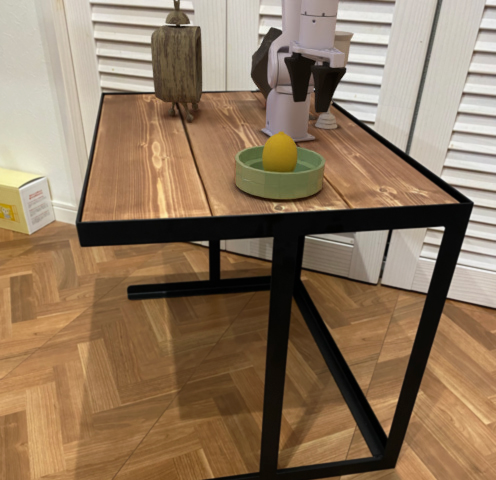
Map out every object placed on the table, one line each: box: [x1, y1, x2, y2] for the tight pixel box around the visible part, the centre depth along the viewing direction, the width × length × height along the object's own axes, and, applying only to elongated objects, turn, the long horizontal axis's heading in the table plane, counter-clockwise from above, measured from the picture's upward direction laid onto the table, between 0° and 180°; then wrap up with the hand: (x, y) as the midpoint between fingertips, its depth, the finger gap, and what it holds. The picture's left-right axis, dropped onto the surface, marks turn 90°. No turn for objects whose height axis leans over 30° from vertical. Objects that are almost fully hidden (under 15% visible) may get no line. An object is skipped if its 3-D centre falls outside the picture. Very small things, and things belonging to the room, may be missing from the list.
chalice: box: [314, 30, 355, 130], centre depth 108 cm, size 7×7×18 cm
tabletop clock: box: [150, 0, 203, 123], centre depth 109 cm, size 14×9×25 cm, turn 179°
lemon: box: [262, 131, 297, 173], centre depth 80 cm, size 6×6×8 cm
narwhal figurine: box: [250, 26, 316, 120], centre depth 118 cm, size 14×15×18 cm
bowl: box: [234, 144, 326, 200], centre depth 82 cm, size 14×14×4 cm
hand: (310, 106), depth 88 cm, fingers open, 7 cm apart
